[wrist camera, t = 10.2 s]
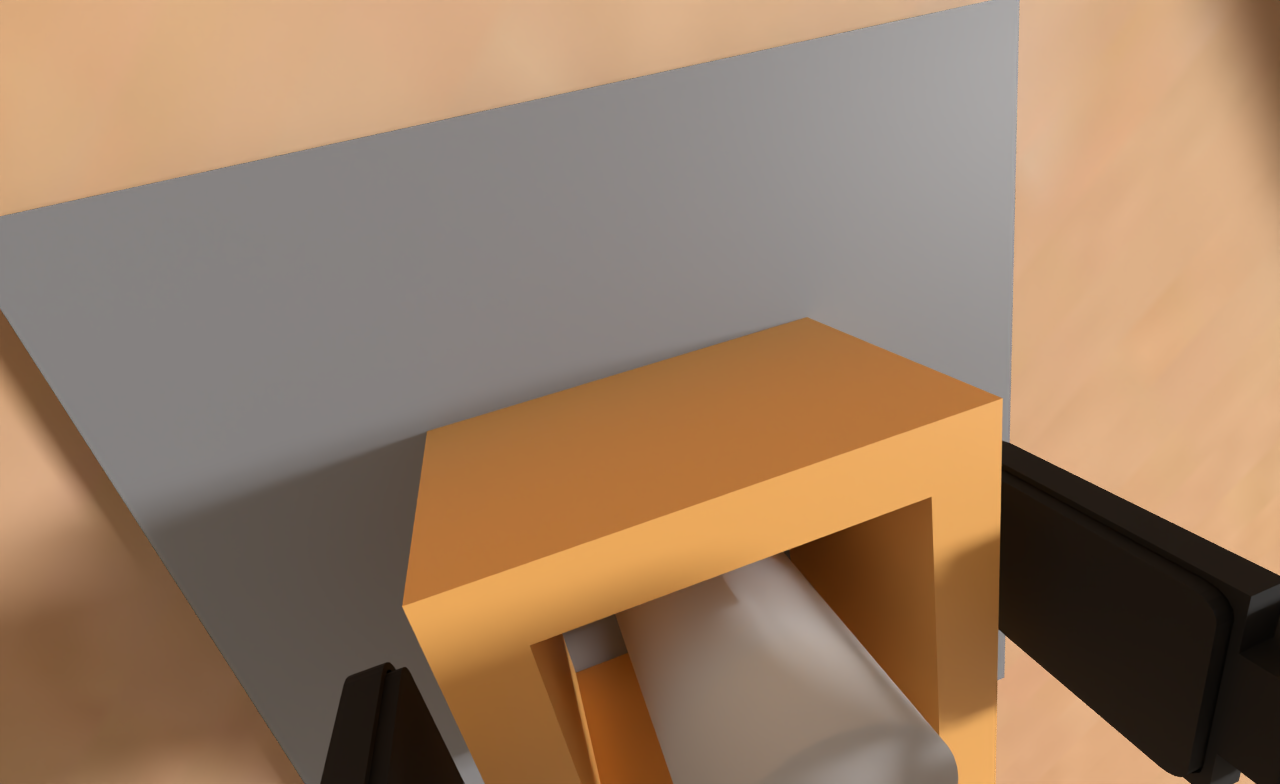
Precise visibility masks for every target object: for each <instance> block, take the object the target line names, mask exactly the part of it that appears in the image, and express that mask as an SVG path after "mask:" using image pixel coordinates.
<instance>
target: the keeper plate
mask: <svg viewBox="0 0 1280 784" xmlns="http://www.w3.org/2000/svg"><path fill="white" fill-rule="evenodd" d="M1018 41H1019V0H991V1H986V2H981V3H977V4H972V5H968V6H963V7H958V8H954V9H949V10H945V11H940V12H936V13H931V14H926V15H922V16H917V17H913V18H908V19H903V20H899V21H894V22H890V23H885V24H881V25H876V26H871V27H867V28H862V29H858V30H853V31H848V32H844V33H839V34H835V35H830V36H826V37H821V38H816V39H812V40H807V41H803V42H798V43H793V44H789V45H784V46H780V47H775V48H771V49H766V50H761V51H757V52H752V53H748V54H743V55H738V56H734V57H729V58H725V59H720V60H716V61H711V62H706V63H702V64H697V65H693V66H688V67H683V68H679V69H674V70H670V71H665V72H661V73H656V74H651V75H647V76H642V77H638V78H633V79H628V80H624V81H619V82H615V83H610V84H605V85H601V86H596V87H592V88H587V89H583V90H578V91H573V92H569V93H564V94H560V95H555V96H550V97H546V98H541V99H537V100H532V101H528V102H523V103H518V104H514V105H509V106H505V107H500V108H495V109H491V110H486V111H482V112H477V113H473V114H468V115H463V116H459V117H454V118H450V119H445V120H440V121H436V122H431V123H427V124H422V125H418V126H413V127H408V128H404V129H399V130H395V131H390V132H385V133H381V134H376V135H372V136H367V137H363V138H358V139H353V140H349V141H344V142H340V143H335V144H330V145H326V146H321V147H317V148H312V149H308V150H303V151H298V152H294V153H289V154H285V155H280V156H275V157H271V158H266V159H262V160H257V161H253V162H248V163H243V164H239V165H234V166H230V167H225V168H220V169H216V170H211V171H207V172H202V173H198V174H193V175H188V176H184V177H179V178H175V179H170V180H165V181H161V182H156V183H152V184H147V185H142V186H138V187H133V188H129V189H124V190H120V191H115V192H110V193H106V194H101V195H97V196H92V197H87V198H83V199H78V200H74V201H69V202H65V203H60V204H55V205H51V206H46V207H42V208H37V209H32V210H28V211H23V212H19V213H14V214H10V215H5V216H0V309H1V311H2V312H3V314H4V315H5V317H6V318H7V320H8V322H9V323H10V325H11V326H12V328H13V329H14V331H15V333H16V334H17V336H18V337H19V339H20V340H21V342H22V343H23V345H24V347H25V348H26V350H27V351H28V353H29V354H30V356H31V357H32V359H33V361H34V362H35V364H36V365H37V367H38V368H39V370H40V372H41V373H42V375H43V376H44V378H45V379H46V381H47V382H48V384H49V386H50V387H51V389H52V390H53V392H54V393H55V395H56V396H57V398H58V400H59V401H60V403H61V404H62V406H63V407H64V409H65V411H66V412H67V414H68V415H69V417H70V418H71V420H72V421H73V423H74V425H75V426H76V428H77V429H78V431H79V432H80V434H81V435H82V437H83V439H84V440H85V442H86V443H87V445H88V446H89V448H90V449H91V451H92V453H93V454H94V456H95V457H96V459H97V460H98V462H99V464H100V465H101V467H102V468H103V470H104V471H105V473H106V474H107V476H108V478H109V479H110V481H111V482H112V484H113V485H114V487H115V488H116V490H117V492H118V493H119V495H120V496H121V498H122V499H123V501H124V503H125V504H126V506H127V507H128V509H129V510H130V512H131V513H132V515H133V517H134V518H135V520H136V521H137V523H138V524H139V526H140V527H141V529H142V531H143V532H144V534H145V535H146V537H147V538H148V540H149V542H150V543H151V545H152V546H153V548H154V549H155V551H156V552H157V554H158V556H159V557H160V559H161V560H162V562H163V563H164V565H165V566H166V568H167V570H168V571H169V573H170V574H171V576H172V577H173V579H174V581H175V582H176V584H177V585H178V587H179V588H180V590H181V591H182V593H183V595H184V596H185V598H186V599H187V601H188V602H189V604H190V605H191V607H192V609H193V610H194V612H195V613H196V615H197V616H198V618H199V620H200V621H201V623H202V624H203V626H204V627H205V629H206V630H207V632H208V634H209V635H210V637H211V638H212V640H213V641H214V643H215V644H216V646H217V648H218V649H219V651H220V652H221V654H222V655H223V657H224V658H225V660H226V662H227V663H228V665H229V666H230V668H231V669H232V671H233V673H234V674H235V676H236V677H237V679H238V680H239V682H240V683H241V685H242V687H243V688H244V690H245V691H246V693H247V694H248V696H249V697H250V699H251V701H252V702H253V704H254V705H255V707H256V708H257V710H258V712H259V713H260V715H261V716H262V718H263V719H264V721H265V722H266V724H267V726H268V727H269V729H270V730H271V732H272V733H273V735H274V736H275V738H276V740H277V741H278V743H279V744H280V746H281V747H282V749H283V751H284V752H285V754H286V755H287V757H288V758H289V760H290V761H291V763H292V765H293V766H294V768H295V769H296V771H297V772H298V774H299V775H300V777H301V779H302V780H303V782H304V783H305V784H320V782H321V778H322V774H323V770H324V765H325V761H326V757H327V753H328V748H329V744H330V740H331V736H332V731H333V727H334V723H335V719H336V714H337V710H338V706H339V702H340V697H341V693H342V689H343V685H344V682H345V680H346V678H347V677H348V676H350V675H353V674H355V673H358V672H361V671H364V670H366V669H369V668H372V667H375V666H377V665H380V664H383V663H386V662H390V663H391V664H392V665H393V666H394V667H395V669H396V670H397V669H400V668H402V667H406V668H408V669H409V671H410V673H411V675H412V677H413V679H414V681H415V683H416V685H417V687H418V689H419V691H420V693H421V695H422V697H423V699H424V701H425V703H426V705H427V707H428V709H429V712H430V714H431V716H432V718H433V720H434V722H435V724H436V726H437V728H438V730H439V732H440V734H441V736H442V738H443V740H444V742H445V744H446V746H447V748H448V750H449V752H450V754H451V757H452V759H453V761H454V763H455V765H456V767H457V769H458V771H459V773H460V775H461V777H462V779H463V781H464V783H465V784H485V783H484V781H483V779H482V777H481V775H480V773H479V770H478V768H477V766H476V764H475V762H474V760H473V758H472V755H471V753H470V751H469V749H468V747H467V745H466V743H465V740H464V738H463V736H462V734H461V732H460V730H459V728H458V725H457V723H456V721H455V719H454V717H453V715H452V713H451V710H450V708H449V706H448V704H447V702H446V700H445V698H444V695H443V693H442V691H441V689H440V687H439V685H438V683H437V680H436V678H435V676H434V674H433V672H432V670H431V667H430V665H429V663H428V661H427V659H426V657H425V655H424V652H423V650H422V648H421V646H420V644H419V642H418V640H417V637H416V635H415V633H414V631H413V629H412V627H411V625H410V622H409V620H408V618H407V616H406V614H405V612H404V610H403V607H402V604H403V597H404V590H405V583H406V576H407V569H408V562H409V554H410V547H411V540H412V533H413V526H414V519H415V512H416V505H417V498H418V491H419V484H420V477H421V470H422V463H423V456H424V449H425V442H426V435H427V431H430V430H433V429H436V428H440V427H443V426H446V425H450V424H453V423H456V422H460V421H463V420H466V419H470V418H473V417H476V416H480V415H483V414H486V413H490V412H493V411H496V410H500V409H503V408H506V407H509V406H513V405H516V404H519V403H523V402H526V401H529V400H533V399H536V398H539V397H543V396H546V395H549V394H553V393H556V392H559V391H563V390H566V389H569V388H573V387H576V386H579V385H583V384H586V383H589V382H593V381H596V380H599V379H603V378H606V377H609V376H613V375H616V374H619V373H623V372H626V371H629V370H633V369H636V368H639V367H643V366H646V365H649V364H653V363H656V362H659V361H662V360H666V359H669V358H672V357H676V356H679V355H682V354H686V353H689V352H692V351H696V350H699V349H702V348H706V347H709V346H712V345H716V344H719V343H722V342H726V341H729V340H732V339H736V338H739V337H742V336H746V335H749V334H752V333H756V332H759V331H762V330H766V329H769V328H772V327H776V326H779V325H782V324H786V323H789V322H792V321H796V320H799V319H802V318H805V317H808V318H810V319H813V320H815V321H818V322H820V323H822V324H825V325H827V326H830V327H832V328H835V329H837V330H839V331H842V332H844V333H847V334H849V335H851V336H854V337H856V338H859V339H861V340H863V341H866V342H868V343H871V344H873V345H875V346H878V347H880V348H883V349H885V350H888V351H890V352H892V353H895V354H897V355H900V356H902V357H904V358H907V359H909V360H912V361H914V362H916V363H919V364H921V365H924V366H926V367H929V368H931V369H933V370H936V371H938V372H941V373H943V374H945V375H948V376H950V377H953V378H955V379H957V380H960V381H962V382H965V383H967V384H969V385H972V386H974V387H977V388H979V389H982V390H984V391H986V392H989V393H991V394H994V395H996V396H998V397H1001V398H1003V411H1002V441H1005V442H1008V443H1009V441H1010V397H1011V352H1012V308H1013V263H1014V219H1015V174H1016V130H1017V85H1018ZM562 634H563V637H564V640H565V643H566V646H567V649H568V652H569V655H570V658H571V660H572V663H573V666H574V669H575V672H579V671H582V670H584V669H587V668H590V667H592V666H595V665H597V664H600V663H603V662H605V661H608V660H610V659H613V658H616V657H618V656H621V655H623V654H626V653H628V654H629V656H630V659H631V662H632V665H633V668H634V671H635V674H636V677H637V680H638V683H639V685H640V688H641V691H642V694H643V697H644V700H645V703H646V706H647V709H648V712H649V715H650V717H651V720H652V723H653V726H654V729H655V732H656V735H657V738H658V741H659V744H660V746H661V749H662V752H663V755H664V758H665V761H666V764H667V767H668V770H669V773H670V775H671V778H672V781H673V784H958V770H957V765H956V761H955V758H954V756H953V754H952V752H951V750H950V748H949V747H948V746H947V744H946V743H945V742H944V741H943V740H942V739H941V737H940V736H939V735H938V734H937V733H936V731H935V730H934V729H933V728H932V727H931V726H930V724H929V723H928V722H927V721H926V720H925V718H924V717H923V716H922V715H921V714H920V713H919V711H918V710H917V709H916V708H915V707H914V705H913V704H912V703H911V702H910V701H909V700H908V698H907V697H906V696H905V695H904V694H903V693H902V691H901V690H900V689H899V688H898V687H897V685H896V684H895V683H894V682H893V681H892V680H891V678H890V677H889V676H888V675H887V674H886V672H885V671H884V670H883V669H882V668H881V667H880V665H879V664H878V663H877V662H876V661H875V659H874V658H873V657H872V656H871V655H870V654H869V652H868V651H867V650H866V649H865V648H864V646H863V645H862V644H861V643H860V642H859V641H858V639H857V638H856V637H855V636H854V635H853V634H852V632H851V631H850V630H849V629H848V628H847V626H846V625H845V624H844V623H843V622H842V621H841V619H840V618H839V617H838V616H837V615H836V613H835V612H834V611H833V610H832V609H831V608H830V606H829V605H828V604H827V603H826V602H825V600H824V599H823V598H822V597H821V596H820V595H819V593H818V592H817V591H816V590H815V589H814V587H813V586H812V585H811V584H810V583H809V582H808V580H807V579H806V578H805V577H804V576H803V575H802V573H801V572H800V571H799V570H798V569H797V567H796V566H795V565H794V564H793V563H792V562H791V559H790V552H789V550H786V551H783V552H781V553H778V554H775V555H773V556H770V557H767V558H765V559H762V560H759V561H756V562H754V563H751V564H748V565H746V566H743V567H740V568H738V569H735V570H732V571H729V572H727V573H724V574H721V575H719V576H716V577H713V578H711V579H708V580H705V581H702V582H700V583H697V584H694V585H692V586H689V587H686V588H684V589H681V590H678V591H675V592H673V593H670V594H667V595H665V596H662V597H659V598H657V599H654V600H651V601H648V602H646V603H643V604H640V605H638V606H635V607H632V608H630V609H627V610H624V611H621V612H619V613H616V614H613V615H611V616H608V617H605V618H603V619H600V620H597V621H594V622H592V623H589V624H586V625H584V626H581V627H578V628H576V629H573V630H570V631H567V632H565V633H562ZM1004 664H1005V635H1004V634H1003V633H1002V632H1001V631H1000V630H998V673H997V680H999V679H1002V678H1004Z"/></svg>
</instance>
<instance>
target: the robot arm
mask: <svg viewBox="0 0 1280 784" xmlns="http://www.w3.org/2000/svg"><path fill="white" fill-rule="evenodd" d="M998 630H1000V631H1001V632H1002V633H1003V634H1004V635H1006V636H1007V637H1008V638H1009V639H1010V640H1011V641H1013V642H1014V643H1015V644H1016V645H1017V646H1018V647H1020V648H1021V649H1022V650H1023V651H1024V652H1026V653H1027V654H1028V655H1029V656H1030V657H1031V658H1033V659H1034V660H1035V661H1036V662H1037V663H1038V664H1040V665H1041V666H1042V667H1043V668H1044V669H1046V670H1047V671H1048V672H1049V673H1050V674H1051V675H1053V676H1054V677H1055V678H1056V679H1057V680H1058V681H1060V682H1061V683H1062V684H1063V685H1064V686H1065V687H1067V688H1068V689H1069V690H1070V691H1071V692H1073V693H1074V694H1075V695H1076V696H1077V697H1078V698H1080V699H1081V700H1082V701H1083V702H1084V703H1085V704H1087V705H1088V706H1089V707H1090V708H1091V709H1093V710H1094V711H1095V712H1096V713H1097V714H1098V715H1100V716H1101V717H1102V718H1103V719H1104V720H1105V721H1107V722H1108V723H1109V724H1110V725H1111V726H1113V727H1114V728H1115V729H1116V730H1117V731H1118V732H1120V733H1121V734H1122V735H1123V736H1124V737H1125V738H1127V739H1128V740H1129V741H1130V742H1131V743H1133V744H1134V745H1135V746H1136V747H1137V748H1138V749H1140V750H1141V751H1142V752H1143V753H1144V754H1145V755H1147V756H1148V757H1149V758H1150V759H1151V760H1153V761H1154V762H1155V763H1156V764H1157V765H1158V766H1160V767H1161V768H1162V769H1164V770H1165V771H1166V772H1168V773H1170V774H1172V775H1174V776H1178V777H1184V778H1185V779H1186V780H1187V781H1188V782H1190V783H1191V784H1234V783H1236V782H1238V781H1239V777H1240V773H1241V772H1242V773H1243V774H1244V775H1245V776H1247V777H1248V778H1249V779H1251V780H1252V781H1253V782H1255V783H1256V784H1280V576H1279V575H1277V574H1275V573H1273V572H1271V571H1269V570H1267V569H1265V568H1263V567H1261V566H1259V565H1257V564H1255V563H1253V562H1251V561H1249V560H1247V559H1245V558H1242V557H1240V556H1238V555H1236V554H1234V553H1232V552H1230V551H1228V550H1226V549H1224V548H1222V547H1220V546H1218V545H1216V544H1214V543H1212V542H1210V541H1208V540H1206V539H1204V538H1202V537H1200V536H1198V535H1196V534H1194V533H1192V532H1190V531H1188V530H1186V529H1184V528H1181V527H1179V526H1177V525H1175V524H1173V523H1171V522H1169V521H1167V520H1165V519H1163V518H1161V517H1159V516H1157V515H1155V514H1153V513H1151V512H1149V511H1147V510H1145V509H1143V508H1141V507H1139V506H1137V505H1135V504H1133V503H1131V502H1129V501H1127V500H1125V499H1122V498H1120V497H1118V496H1116V495H1114V494H1112V493H1110V492H1108V491H1106V490H1104V489H1102V488H1100V487H1098V486H1096V485H1094V484H1092V483H1090V482H1088V481H1086V480H1084V479H1082V478H1080V477H1078V476H1076V475H1074V474H1072V473H1070V472H1068V471H1066V470H1063V469H1061V468H1059V467H1057V466H1055V465H1053V464H1051V463H1049V462H1047V461H1045V460H1043V459H1041V458H1039V457H1037V456H1035V455H1033V454H1031V453H1029V452H1027V451H1025V450H1023V449H1021V448H1019V447H1017V446H1015V445H1013V444H1011V443H1008V442H1005V441H1002V464H1001V516H1000V568H999V621H998ZM320 784H465V783H464V781H463V779H462V777H461V775H460V773H459V771H458V769H457V767H456V765H455V763H454V761H453V759H452V757H451V754H450V752H449V750H448V748H447V746H446V744H445V742H444V740H443V738H442V736H441V734H440V732H439V730H438V728H437V726H436V724H435V722H434V720H433V718H432V716H431V714H430V712H429V709H428V707H427V705H426V703H425V701H424V699H423V697H422V695H421V693H420V691H419V689H418V687H417V685H416V683H415V681H414V679H413V677H412V675H411V673H410V671H409V669H408V668H406V667H402V668H400V669H397V670H396V669H395V667H394V666H393V665H392V664H391V663H390V662H386V663H383V664H380V665H377V666H375V667H372V668H369V669H366V670H364V671H361V672H358V673H355V674H353V675H350V676H348V677H347V678H346V680H345V682H344V685H343V689H342V693H341V697H340V702H339V706H338V710H337V714H336V719H335V723H334V727H333V731H332V736H331V740H330V744H329V748H328V753H327V757H326V761H325V765H324V770H323V774H322V778H321V782H320Z"/></svg>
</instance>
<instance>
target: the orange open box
mask: <svg viewBox="0 0 1280 784" xmlns="http://www.w3.org/2000/svg"><path fill="white" fill-rule="evenodd" d="M1002 411H1003V398H1001V397H998V396H996V395H994V394H991V393H989V392H986V391H984V390H982V389H979V388H977V387H974V386H972V385H969V384H967V383H965V382H962V381H960V380H957V379H955V378H953V377H950V376H948V375H945V374H943V373H941V372H938V371H936V370H933V369H931V368H929V367H926V366H924V365H921V364H919V363H916V362H914V361H912V360H909V359H907V358H904V357H902V356H900V355H897V354H895V353H892V352H890V351H888V350H885V349H883V348H880V347H878V346H875V345H873V344H871V343H868V342H866V341H863V340H861V339H859V338H856V337H854V336H851V335H849V334H847V333H844V332H842V331H839V330H837V329H835V328H832V327H830V326H827V325H825V324H822V323H820V322H818V321H815V320H813V319H810V318H808V317H805V318H802V319H799V320H796V321H792V322H789V323H786V324H782V325H779V326H776V327H772V328H769V329H766V330H762V331H759V332H756V333H752V334H749V335H746V336H742V337H739V338H736V339H732V340H729V341H726V342H722V343H719V344H716V345H712V346H709V347H706V348H702V349H699V350H696V351H692V352H689V353H686V354H682V355H679V356H676V357H672V358H669V359H666V360H662V361H659V362H656V363H653V364H649V365H646V366H643V367H639V368H636V369H633V370H629V371H626V372H623V373H619V374H616V375H613V376H609V377H606V378H603V379H599V380H596V381H593V382H589V383H586V384H583V385H579V386H576V387H573V388H569V389H566V390H563V391H559V392H556V393H553V394H549V395H546V396H543V397H539V398H536V399H533V400H529V401H526V402H523V403H519V404H516V405H513V406H509V407H506V408H503V409H500V410H496V411H493V412H490V413H486V414H483V415H480V416H476V417H473V418H470V419H466V420H463V421H460V422H456V423H453V424H450V425H446V426H443V427H440V428H436V429H433V430H430V431H427V435H426V442H425V449H424V456H423V463H422V470H421V477H420V484H419V491H418V498H417V505H416V512H415V519H414V526H413V533H412V540H411V547H410V554H409V562H408V569H407V576H406V583H405V590H404V597H403V604H402V607H403V610H404V612H405V614H406V616H407V618H408V620H409V622H410V625H411V627H412V629H413V631H414V633H415V635H416V637H417V640H418V642H419V644H420V646H421V648H422V650H423V652H424V655H425V657H426V659H427V661H428V663H429V665H430V667H431V670H432V672H433V674H434V676H435V678H436V680H437V683H438V685H439V687H440V689H441V691H442V693H443V695H444V698H445V700H446V702H447V704H448V706H449V708H450V710H451V713H452V715H453V717H454V719H455V721H456V723H457V725H458V728H459V730H460V732H461V734H462V736H463V738H464V740H465V743H466V745H467V747H468V749H469V751H470V753H471V755H472V758H473V760H474V762H475V764H476V766H477V768H478V770H479V773H480V775H481V777H482V779H483V781H484V783H485V784H673V781H672V778H671V775H670V773H669V770H668V767H667V764H666V761H665V758H664V755H663V752H662V749H661V746H660V744H659V741H658V738H657V735H656V732H655V729H654V726H653V723H652V720H651V717H650V715H649V712H648V709H647V706H646V703H645V700H644V697H643V694H642V691H641V688H640V685H639V683H638V680H637V677H636V674H635V671H634V668H633V665H632V662H631V659H630V656H629V654H628V653H626V654H623V655H621V656H618V657H616V658H613V659H610V660H608V661H605V662H603V663H600V664H597V665H595V666H592V667H590V668H587V669H584V670H582V671H579V672H575V669H574V666H573V663H572V660H571V658H570V655H569V652H568V649H567V646H566V643H565V640H564V637H563V634H562V633H565V632H567V631H570V630H573V629H576V628H578V627H581V626H584V625H586V624H589V623H592V622H594V621H597V620H600V619H603V618H605V617H608V616H611V615H613V614H616V613H619V612H621V611H624V610H627V609H630V608H632V607H635V606H638V605H640V604H643V603H646V602H648V601H651V600H654V599H657V598H659V597H662V596H665V595H667V594H670V593H673V592H675V591H678V590H681V589H684V588H686V587H689V586H692V585H694V584H697V583H700V582H702V581H705V580H708V579H711V578H713V577H716V576H719V575H721V574H724V573H727V572H729V571H732V570H735V569H738V568H740V567H743V566H746V565H748V564H751V563H754V562H756V561H759V560H762V559H765V558H767V557H770V556H773V555H775V554H778V553H781V552H783V551H786V550H789V552H790V559H791V562H792V563H793V564H794V565H795V566H796V567H797V569H798V570H799V571H800V572H801V573H802V575H803V576H804V577H805V578H806V579H807V580H808V582H809V583H810V584H811V585H812V586H813V587H814V589H815V590H816V591H817V592H818V593H819V595H820V596H821V597H822V598H823V599H824V600H825V602H826V603H827V604H828V605H829V606H830V608H831V609H832V610H833V611H834V612H835V613H836V615H837V616H838V617H839V618H840V619H841V621H842V622H843V623H844V624H845V625H846V626H847V628H848V629H849V630H850V631H851V632H852V634H853V635H854V636H855V637H856V638H857V639H858V641H859V642H860V643H861V644H862V645H863V646H864V648H865V649H866V650H867V651H868V652H869V654H870V655H871V656H872V657H873V658H874V659H875V661H876V662H877V663H878V664H879V665H880V667H881V668H882V669H883V670H884V671H885V672H886V674H887V675H888V676H889V677H890V678H891V680H892V681H893V682H894V683H895V684H896V685H897V687H898V688H899V689H900V690H901V691H902V693H903V694H904V695H905V696H906V697H907V698H908V700H909V701H910V702H911V703H912V704H913V705H914V707H915V708H916V709H917V710H918V711H919V713H920V714H921V715H922V716H923V717H924V718H925V720H926V721H927V722H928V723H929V724H930V726H931V727H932V728H933V729H934V730H935V731H936V733H937V734H938V735H939V736H940V737H941V739H942V740H943V741H944V742H945V743H946V744H947V746H948V747H949V748H950V750H951V752H952V754H953V756H954V758H955V761H956V765H957V770H958V784H995V778H996V726H997V673H998V621H999V568H1000V516H1001V464H1002Z"/></svg>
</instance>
